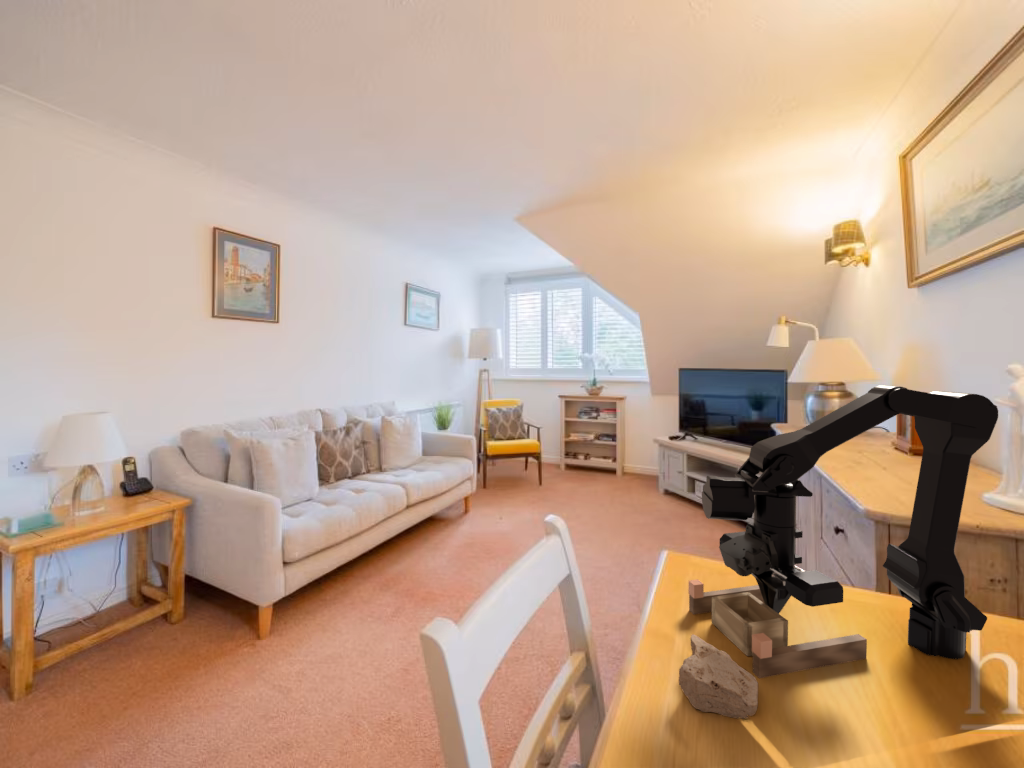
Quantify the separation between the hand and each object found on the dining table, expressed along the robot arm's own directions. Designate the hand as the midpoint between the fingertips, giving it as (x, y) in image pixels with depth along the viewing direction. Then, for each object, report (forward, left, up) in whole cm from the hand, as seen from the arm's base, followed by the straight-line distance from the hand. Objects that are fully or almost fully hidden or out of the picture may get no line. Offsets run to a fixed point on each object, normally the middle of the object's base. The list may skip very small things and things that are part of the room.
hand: (772, 615), depth 66 cm
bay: (+1, 0, -4) cm, 4 cm away
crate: (+5, 0, -3) cm, 5 cm away
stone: (+17, +8, -4) cm, 19 cm away
